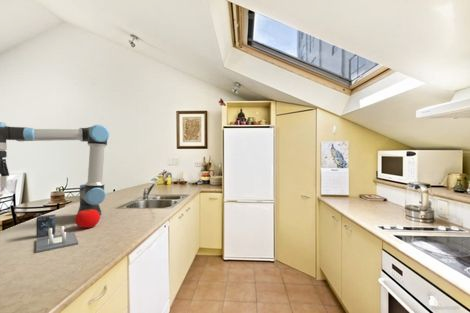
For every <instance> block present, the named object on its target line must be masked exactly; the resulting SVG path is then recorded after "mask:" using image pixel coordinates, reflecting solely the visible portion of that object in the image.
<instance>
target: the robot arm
mask: <svg viewBox="0 0 470 313" xmlns="http://www.w3.org/2000/svg"><path fill="white" fill-rule="evenodd" d="M110 135H111V134H110V130H109V129H108V128H107V127H106V126H104V125H102V124H95V125H92V126H90V127H79V128H77V129H76V128H75V129H72V128H70V129H69V128H68V129H67V128H61V129H60V128H33V127H27V126H24V127H22V126H20V127H19V126H8V125H7V124H6V123H5V122H1V121H0V189H1V188H2V189H3V188H8V177H9V176H10V173H9V168H8V165H7V159H6V158H7V157H8V156H7V151H6V150H7V147H8V146H7V141H16V142H32V141H33V142H35V141H36V142H37V141H40V142H41V141H45V142H49V141H80V142H87V145H88V146H89V153H88V156H89V158H88V169H87V171H88V172H87V182H86V183H84V184H80V186H79V207H78V209H77V213H76V215H77V214H78V212H80V211H83V210H88V209H94V210H97V211H98V212H99V214H100V216H101V215H102V210H101V207H100V204H101V203H103V202H104V201H105V199H106V195H107V194H106V191H105V183H104V182H103V176H104V175H103V172H104V158H105V157H104V155H105V148H106V147H107V146H108V139H109V138H110Z"/></svg>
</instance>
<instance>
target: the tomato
mask: <svg viewBox="0 0 470 313" xmlns="http://www.w3.org/2000/svg"><path fill="white" fill-rule="evenodd" d="M77 212H78V211H77ZM100 219H101V215H100V214H99V212H98V211H97V210H94V209H88V210H83V211H80V212H78V214H77V213H76V215H75V217H74V223H75V224H76V225H77V226H78V227H80V228H83V229H85V228H86V229H89V228H93V227H96V225H97V224H98V223H99V222H100Z"/></svg>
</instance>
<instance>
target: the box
mask: <svg viewBox="0 0 470 313" xmlns="http://www.w3.org/2000/svg"><path fill="white" fill-rule="evenodd" d="M35 221H36V223H35V224H36V231H35V233H36V234H35V236H36V239H37V238H42V237H48V229H49V228H52V234H53V236H54V235H55V234H56V214H48V215H38V216H37V217H36V219H35Z"/></svg>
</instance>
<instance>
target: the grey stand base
mask: <svg viewBox="0 0 470 313" xmlns="http://www.w3.org/2000/svg"><path fill="white" fill-rule="evenodd" d="M59 230H60V232H59V233H60V234H56V235H53V234H52V228H49V229H48V236H44V237H38V238H37V237H36V244H35V245H36V247H35V248H36V249H35V252H36V254H39V253H43V252H47V251H51V250H58V249H62V248H67V247H71V246H77V245H79V240H78V239H77V235H76V233H75V231H72V232H66V231H65V226H64V225H63V226H62V225H61V226H60V227H59Z"/></svg>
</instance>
